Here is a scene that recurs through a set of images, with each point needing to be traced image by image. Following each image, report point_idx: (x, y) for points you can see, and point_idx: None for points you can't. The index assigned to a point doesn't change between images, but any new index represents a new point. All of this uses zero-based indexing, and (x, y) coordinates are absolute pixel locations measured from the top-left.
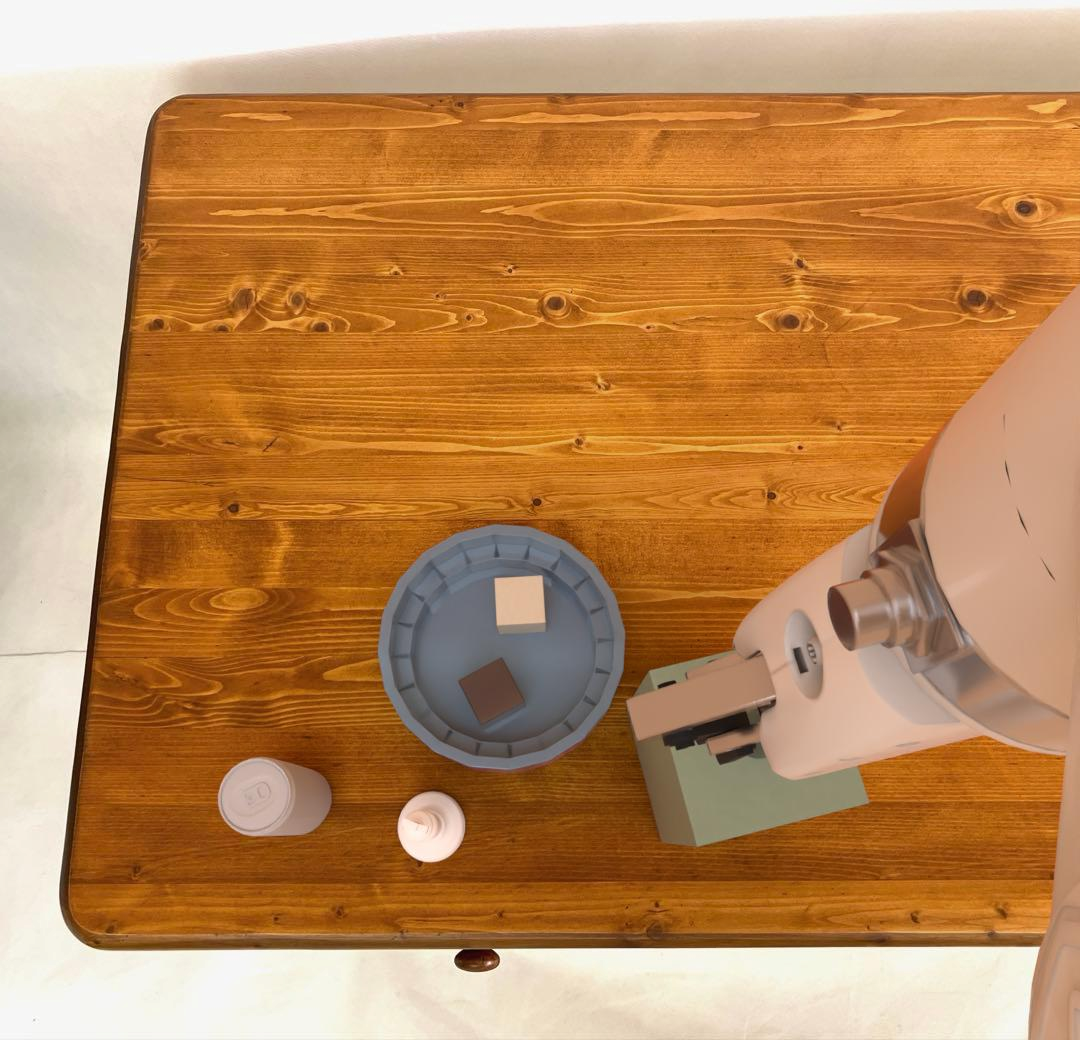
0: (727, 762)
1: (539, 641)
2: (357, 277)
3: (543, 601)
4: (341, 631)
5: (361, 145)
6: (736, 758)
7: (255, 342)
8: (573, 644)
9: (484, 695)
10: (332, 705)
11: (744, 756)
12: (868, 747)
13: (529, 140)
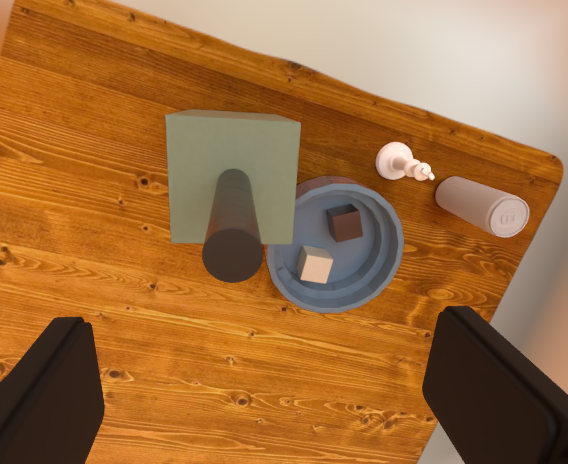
0: (485, 325)
1: (307, 240)
2: (334, 427)
3: (304, 266)
4: (400, 268)
5: None
6: (543, 378)
7: (390, 405)
8: None
9: (352, 225)
10: (418, 234)
11: (522, 372)
12: None
13: None
